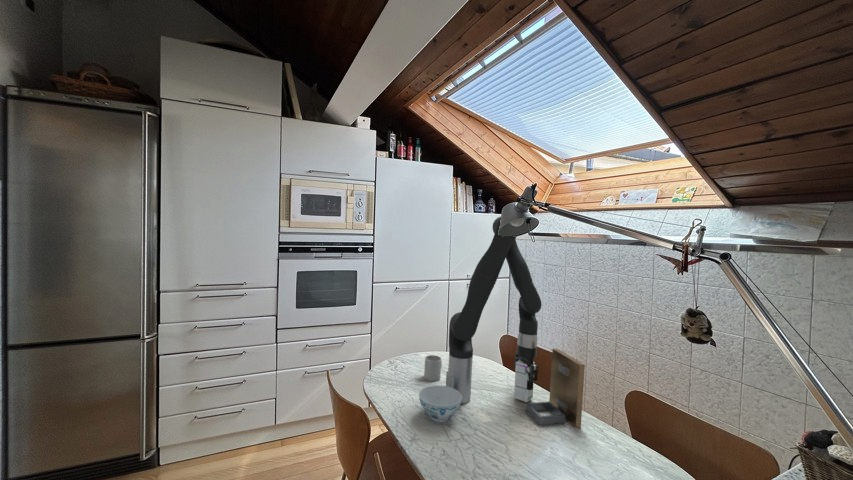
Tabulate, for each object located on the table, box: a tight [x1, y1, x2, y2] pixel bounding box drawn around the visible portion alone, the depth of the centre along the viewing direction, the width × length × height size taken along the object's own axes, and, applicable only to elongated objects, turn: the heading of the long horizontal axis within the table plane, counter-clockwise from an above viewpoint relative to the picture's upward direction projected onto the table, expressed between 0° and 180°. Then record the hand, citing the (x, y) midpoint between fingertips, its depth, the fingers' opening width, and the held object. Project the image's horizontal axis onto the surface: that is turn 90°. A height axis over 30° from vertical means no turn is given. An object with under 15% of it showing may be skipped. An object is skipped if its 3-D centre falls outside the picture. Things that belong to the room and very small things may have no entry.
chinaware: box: [418, 385, 462, 423], centre depth 119 cm, size 15×15×8 cm
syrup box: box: [513, 361, 536, 403], centre depth 135 cm, size 6×6×14 cm
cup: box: [423, 354, 443, 382], centre depth 152 cm, size 7×10×9 cm
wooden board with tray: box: [524, 348, 586, 429], centre depth 123 cm, size 14×16×22 cm
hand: (524, 384), depth 135 cm, fingers closed on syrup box, 8 cm apart
